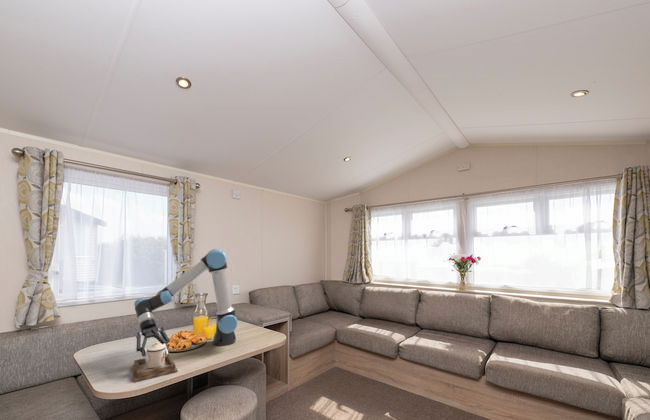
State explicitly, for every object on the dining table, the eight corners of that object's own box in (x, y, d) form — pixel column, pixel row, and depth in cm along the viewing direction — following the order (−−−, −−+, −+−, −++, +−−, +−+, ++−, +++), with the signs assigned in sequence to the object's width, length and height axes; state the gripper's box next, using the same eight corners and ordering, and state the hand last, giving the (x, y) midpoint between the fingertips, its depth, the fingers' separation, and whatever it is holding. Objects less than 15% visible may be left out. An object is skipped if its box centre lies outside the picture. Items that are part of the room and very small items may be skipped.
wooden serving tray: (169, 359, 173) (170, 352, 173) (177, 372, 155) (177, 364, 156) (131, 367, 161) (132, 360, 162) (135, 382, 144) (135, 374, 144)
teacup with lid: (165, 366, 156) (166, 343, 157) (145, 369, 152) (146, 346, 153) (165, 358, 166) (166, 337, 168) (146, 361, 162) (147, 339, 163)
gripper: (164, 322, 178) (175, 355, 167) (123, 330, 161) (132, 368, 150) (168, 314, 176) (180, 348, 164) (127, 322, 159) (137, 360, 147)
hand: (157, 358), depth 157 cm, fingers closed on teacup with lid, 9 cm apart
